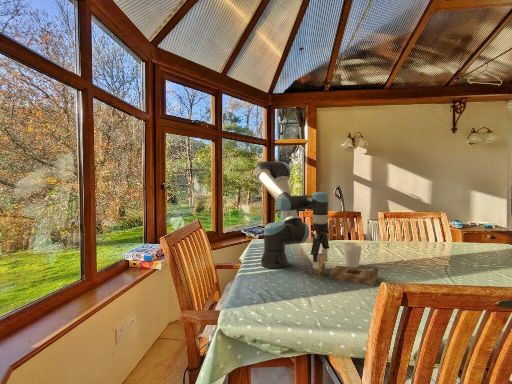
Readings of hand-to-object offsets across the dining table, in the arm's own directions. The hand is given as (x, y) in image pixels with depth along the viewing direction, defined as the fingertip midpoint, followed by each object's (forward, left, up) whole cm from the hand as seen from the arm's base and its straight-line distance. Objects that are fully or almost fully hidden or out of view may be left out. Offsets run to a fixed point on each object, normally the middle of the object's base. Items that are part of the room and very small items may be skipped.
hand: (320, 264), depth 145 cm
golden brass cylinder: (0, 0, -5) cm, 5 cm away
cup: (+11, +22, -5) cm, 25 cm away
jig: (+16, +3, -5) cm, 17 cm away
